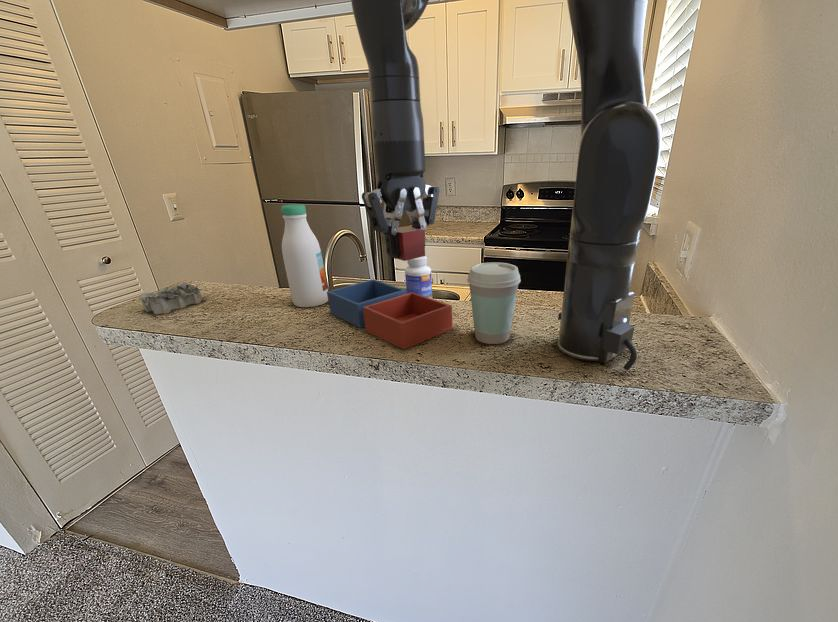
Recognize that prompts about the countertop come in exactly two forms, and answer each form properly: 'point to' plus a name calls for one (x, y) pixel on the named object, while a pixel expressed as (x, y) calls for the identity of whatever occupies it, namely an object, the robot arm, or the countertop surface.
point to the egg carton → (171, 298)
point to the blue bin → (359, 299)
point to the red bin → (408, 319)
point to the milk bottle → (302, 259)
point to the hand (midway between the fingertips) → (406, 254)
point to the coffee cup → (493, 300)
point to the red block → (411, 243)
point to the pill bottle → (419, 277)
